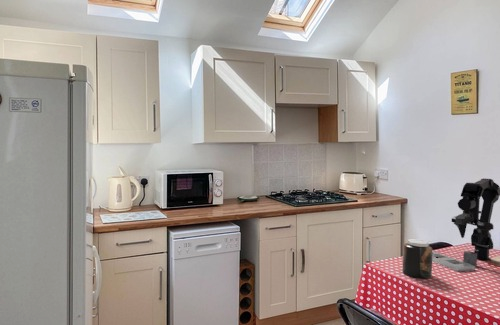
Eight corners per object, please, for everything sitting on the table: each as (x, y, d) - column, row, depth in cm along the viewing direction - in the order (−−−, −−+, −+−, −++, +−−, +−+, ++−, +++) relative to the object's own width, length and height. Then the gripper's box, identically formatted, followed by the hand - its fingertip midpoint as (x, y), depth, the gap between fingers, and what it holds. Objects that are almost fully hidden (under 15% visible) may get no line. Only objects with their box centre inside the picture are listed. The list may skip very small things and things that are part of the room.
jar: (402, 276, 157) (404, 242, 156) (402, 268, 168) (403, 236, 167) (432, 280, 153) (434, 246, 152) (430, 272, 163) (431, 239, 163)
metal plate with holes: (434, 255, 191) (434, 251, 191) (474, 269, 168) (475, 265, 168) (419, 256, 188) (419, 252, 188) (458, 271, 165) (458, 267, 165)
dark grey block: (469, 263, 179) (469, 251, 179) (476, 265, 175) (477, 253, 175) (463, 263, 178) (463, 251, 177) (470, 266, 174) (470, 254, 174)
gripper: (443, 206, 182) (442, 236, 182) (476, 212, 164) (475, 246, 165) (460, 205, 185) (459, 235, 186) (495, 211, 167) (493, 244, 168)
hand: (470, 240), depth 176 cm, fingers open, 9 cm apart
